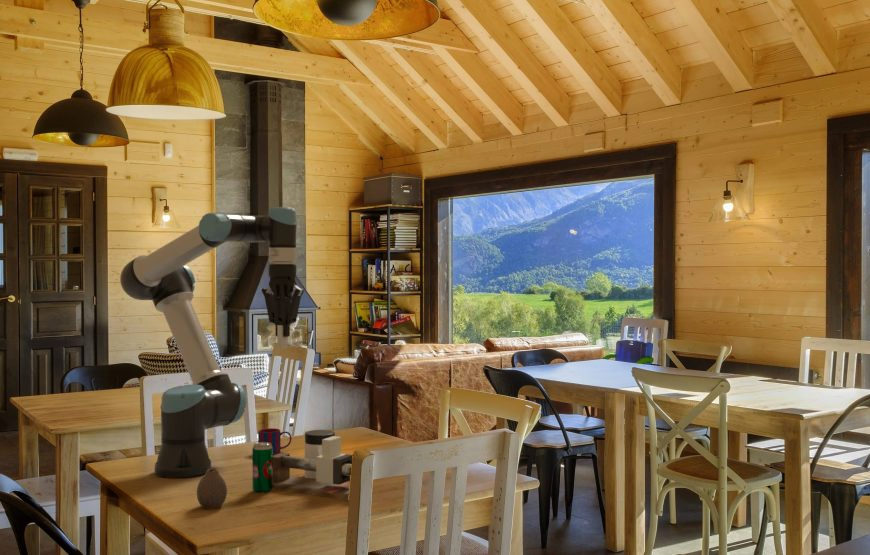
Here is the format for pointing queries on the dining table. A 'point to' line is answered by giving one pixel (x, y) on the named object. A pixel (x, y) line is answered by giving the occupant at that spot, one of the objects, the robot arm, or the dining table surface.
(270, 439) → the mug
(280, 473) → the stand
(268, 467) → the soda can
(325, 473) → the sleeve
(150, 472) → the dining table surface
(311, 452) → the jar
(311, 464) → the pipe
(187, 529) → the dining table surface
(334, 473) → the dark grey square collar
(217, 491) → the vase
